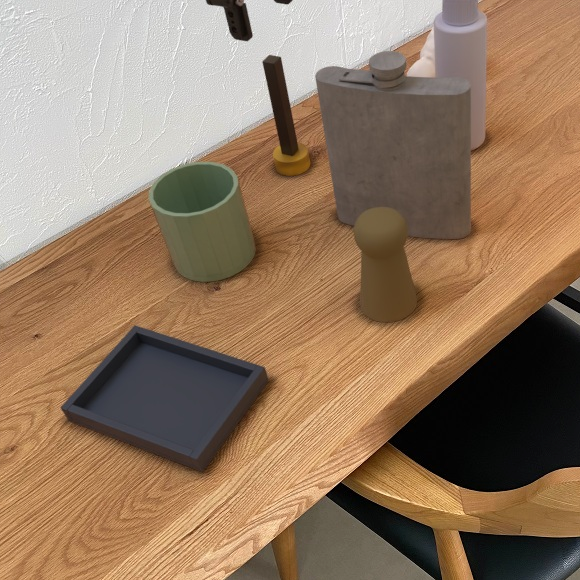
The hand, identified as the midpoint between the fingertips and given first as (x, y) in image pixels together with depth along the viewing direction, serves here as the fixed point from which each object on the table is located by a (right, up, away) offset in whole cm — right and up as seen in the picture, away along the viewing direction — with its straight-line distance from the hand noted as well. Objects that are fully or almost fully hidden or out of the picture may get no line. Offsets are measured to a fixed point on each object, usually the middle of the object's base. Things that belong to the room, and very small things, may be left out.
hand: (263, 20), depth 86 cm
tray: (-8, -41, -9) cm, 43 cm away
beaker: (-6, -25, +4) cm, 26 cm away
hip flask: (+15, -21, +5) cm, 27 cm away
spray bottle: (+23, -8, +15) cm, 28 cm away
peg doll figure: (+14, -31, -2) cm, 34 cm away
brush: (+1, -12, +14) cm, 18 cm away
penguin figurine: (+20, +3, +24) cm, 32 cm away
